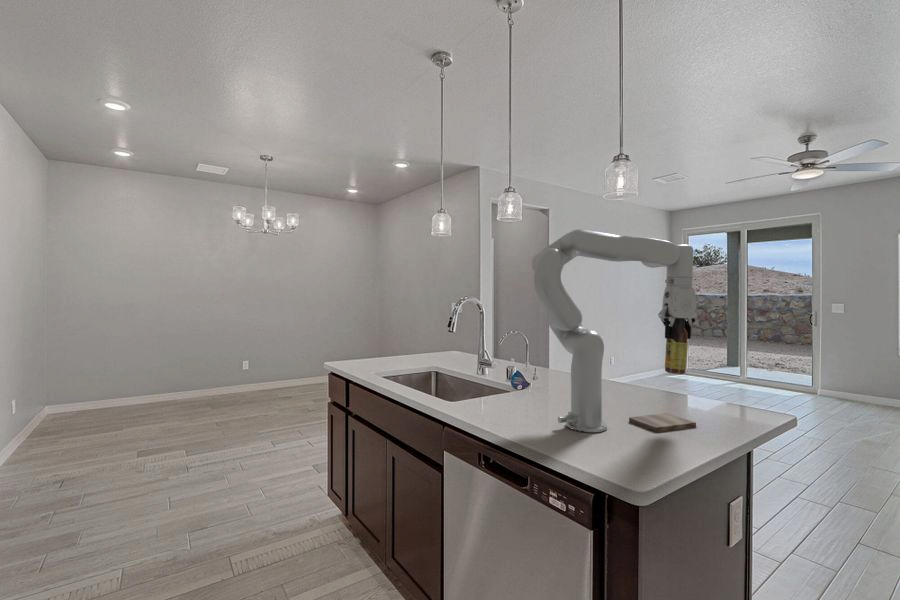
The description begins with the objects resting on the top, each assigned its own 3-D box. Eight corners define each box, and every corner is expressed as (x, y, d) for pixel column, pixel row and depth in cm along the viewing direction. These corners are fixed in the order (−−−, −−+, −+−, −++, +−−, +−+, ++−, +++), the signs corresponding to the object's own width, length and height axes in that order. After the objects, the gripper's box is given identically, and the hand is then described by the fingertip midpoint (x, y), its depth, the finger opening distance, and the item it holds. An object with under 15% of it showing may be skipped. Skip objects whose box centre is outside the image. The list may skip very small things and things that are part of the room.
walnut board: (656, 432, 136) (656, 427, 136) (629, 421, 147) (629, 417, 147) (696, 427, 141) (696, 422, 141) (666, 417, 152) (666, 413, 152)
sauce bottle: (664, 370, 147) (668, 311, 147) (685, 373, 144) (689, 312, 144) (664, 373, 141) (667, 311, 141) (686, 375, 139) (690, 312, 139)
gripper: (667, 282, 136) (665, 339, 136) (709, 283, 142) (708, 339, 142) (649, 282, 143) (647, 337, 143) (690, 284, 149) (688, 337, 149)
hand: (677, 338), depth 142 cm, fingers closed on sauce bottle, 6 cm apart
